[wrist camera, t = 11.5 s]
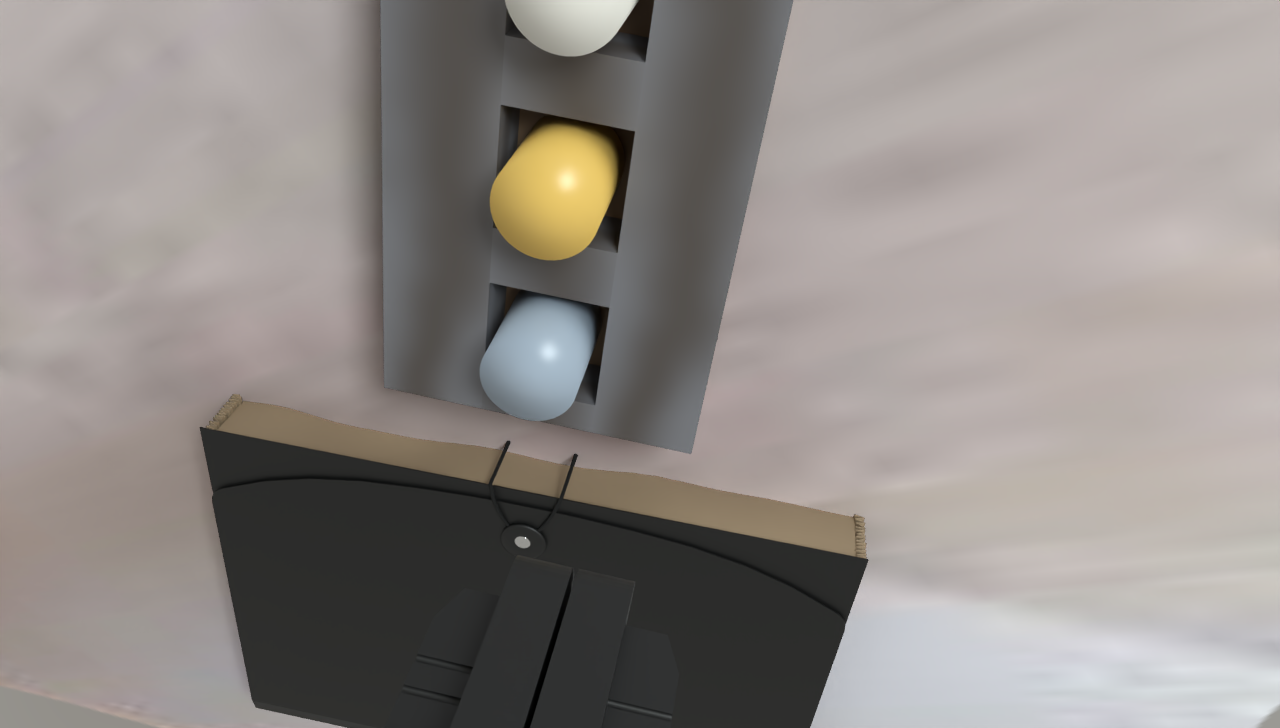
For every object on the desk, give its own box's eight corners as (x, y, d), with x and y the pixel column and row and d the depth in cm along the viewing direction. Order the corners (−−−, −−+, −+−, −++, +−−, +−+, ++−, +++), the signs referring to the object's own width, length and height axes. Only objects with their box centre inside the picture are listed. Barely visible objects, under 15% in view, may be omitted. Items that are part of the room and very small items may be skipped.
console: (415, 340, 47) (384, 387, 43) (422, -209, 34) (378, -201, 30) (701, 401, 46) (691, 454, 43) (821, -136, 33) (820, -120, 30)
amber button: (522, 193, 40) (486, 248, 36) (530, 99, 37) (492, 145, 33) (617, 213, 39) (593, 270, 35) (631, 119, 37) (606, 168, 33)
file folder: (869, 563, 45) (772, 839, 59) (867, 503, 48) (775, 777, 62) (194, 429, 47) (253, 724, 61) (237, 381, 51) (283, 671, 64)
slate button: (510, 345, 44) (477, 409, 40) (516, 268, 42) (482, 328, 37) (596, 363, 44) (572, 429, 40) (606, 287, 41) (582, 349, 37)
